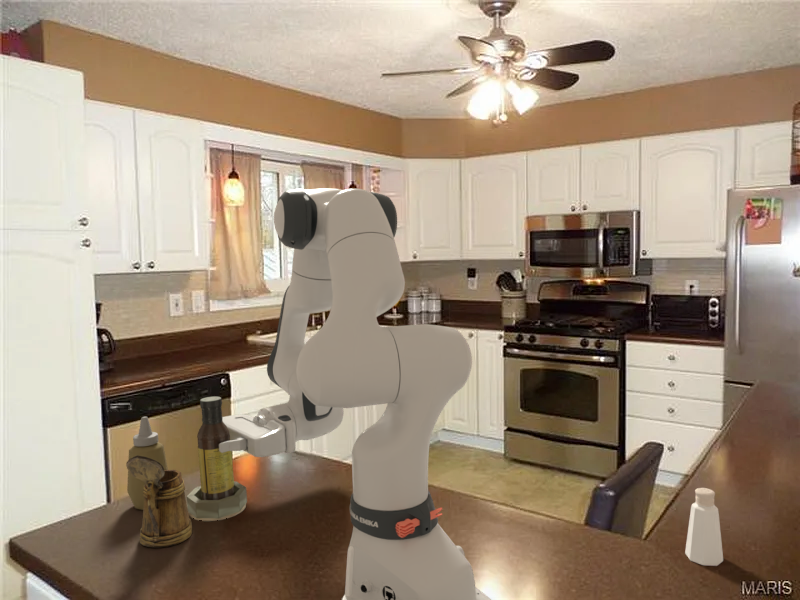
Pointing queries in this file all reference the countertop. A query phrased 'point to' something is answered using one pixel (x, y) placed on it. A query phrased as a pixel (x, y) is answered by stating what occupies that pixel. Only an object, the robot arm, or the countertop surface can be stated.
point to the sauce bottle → (214, 452)
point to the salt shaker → (704, 530)
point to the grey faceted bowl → (216, 504)
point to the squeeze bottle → (146, 447)
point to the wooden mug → (161, 504)
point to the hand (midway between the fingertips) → (210, 443)
